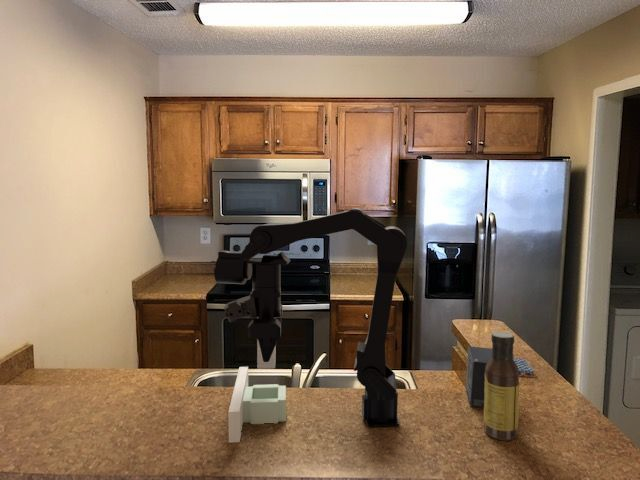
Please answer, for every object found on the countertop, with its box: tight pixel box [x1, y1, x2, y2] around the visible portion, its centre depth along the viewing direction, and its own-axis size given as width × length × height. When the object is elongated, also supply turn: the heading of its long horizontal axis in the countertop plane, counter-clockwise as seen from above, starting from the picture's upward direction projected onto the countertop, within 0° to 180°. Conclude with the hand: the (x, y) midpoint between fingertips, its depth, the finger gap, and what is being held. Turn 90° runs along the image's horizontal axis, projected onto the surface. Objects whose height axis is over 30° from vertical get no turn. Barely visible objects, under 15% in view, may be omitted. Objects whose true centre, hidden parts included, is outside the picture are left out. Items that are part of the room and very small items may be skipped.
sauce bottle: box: [483, 330, 520, 441], centre depth 90 cm, size 6×6×20 cm
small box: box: [465, 345, 492, 409], centre depth 106 cm, size 11×6×10 cm, turn 168°
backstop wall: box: [227, 366, 249, 444], centre depth 98 cm, size 2×22×6 cm, turn 5°
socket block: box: [243, 383, 287, 425], centre depth 98 cm, size 9×9×4 cm
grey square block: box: [256, 338, 277, 370], centre depth 98 cm, size 4×4×7 cm
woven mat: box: [513, 356, 537, 378], centre depth 124 cm, size 10×11×2 cm
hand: (266, 358), depth 98 cm, fingers closed on grey square block, 4 cm apart
